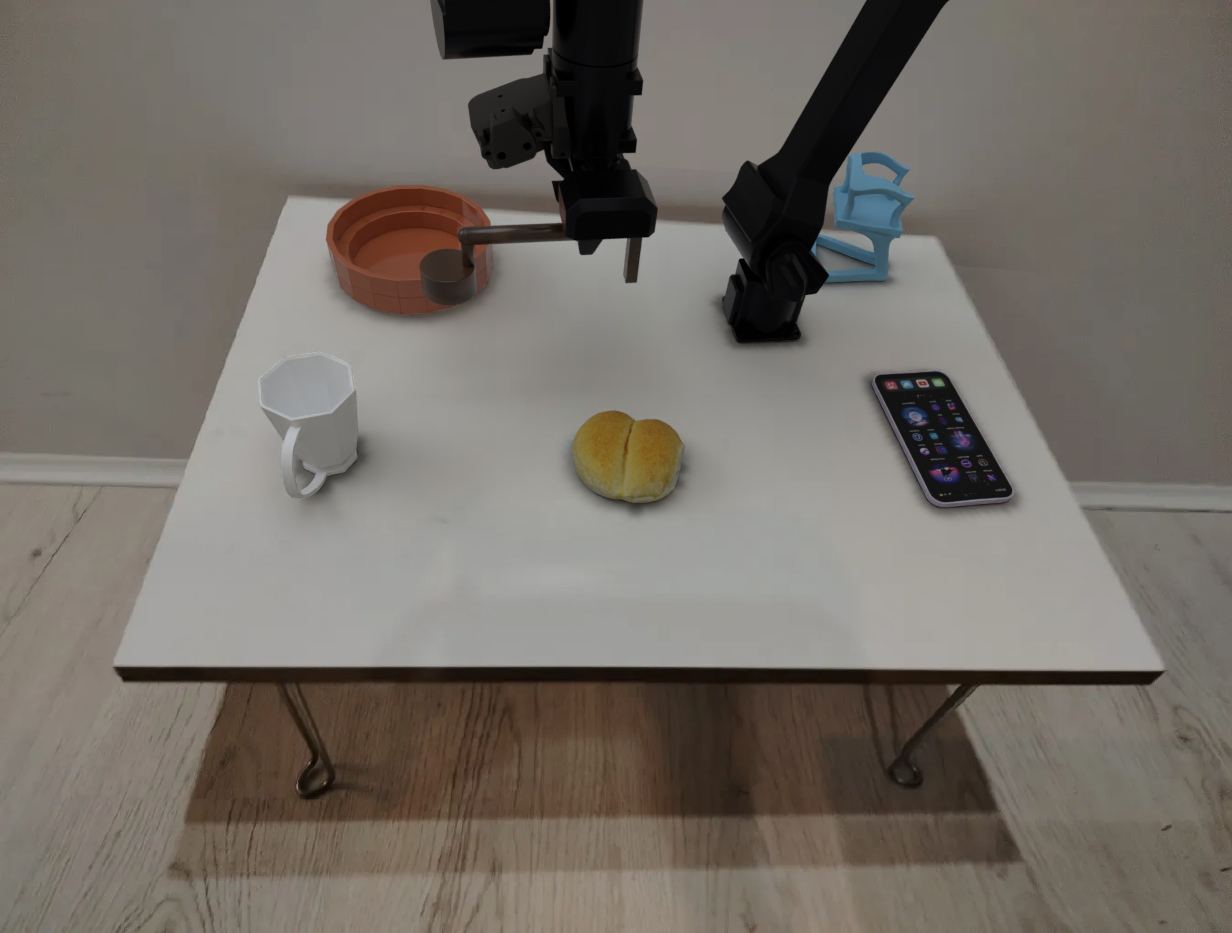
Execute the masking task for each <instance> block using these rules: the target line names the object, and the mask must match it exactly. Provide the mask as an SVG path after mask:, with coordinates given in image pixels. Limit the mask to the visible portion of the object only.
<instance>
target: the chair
mask: <svg viewBox="0 0 1232 933" xmlns="http://www.w3.org/2000/svg"><path fill="white" fill-rule="evenodd" d="M870 164H879V165H882V166H884V167H886V168H888V169H889V170H891V171H892V172H893V173H894V174H896V176H895V178H894V179H893V181H891V180H889V179H887V178H885V177H880V176H875V175H869V174H867V173H865V171H864V170H863V166H865V165H870ZM845 169H846V170H845V178H844V180H843V183H842V184H841V185H835V186H834V188H833V192H832V196H833V198H832V199H833V210H834V217H833V218H834V219H833V221H834V222H833V225H834V229H838V230H844V231H853V232H854V233H857V234H860V235H862V236H864V237H866V238H868V239H869V241H871V243H872V247H873V251H870V250H867V249H864V248H861V247H858V246H856V245H853V244H851V243H848V242H845V241H842V240H839V239H837V238H834V237H831V236H827V235H824V234H822V233H819V235H818V238H817V240H816V242H815V244H814V246H813V248H812V250H811V251H812V252H813V253H814V255H815V256H816V257H817V245H820V246H822V247H824V248H827V249H830V250H832V251H835V252H838V253H840V254H843V255H846V256H848V257H850V258H854V259H856V260H857V261H858V260H859V261H861V262H864V263H867V264H870V265H873V266H874V267H868V268H867V267H866V268H853V269H851V268H850V269H838V270H826V271H827V272H828V274H829V277H828V279H827V280H826V282H825V283H843V282H844V283H845V282H865V281H867V282H868V281H869V282H870V281H874V282H877V281H878V282H881V281H882V282H884V281H886V280H887V279H888V275H889V256H890V255H889V254H890V253H889V252H890V245H891V243H892V241H893V240H894V239H901V236H902V233H903V232H904V230H903V224H902V218H901V216H902V213H903V212H904V211H905V209H906V208H907V207H908V206H909V205H910V204H911V203H912V202H913V201H914V200H915V199H916V196H915V195H914V194H910V193H908V192H907V191H904V190H903V189H902V188H900V185H901V183H902V182H903V179H904V177H906V175H907V174H908V173H909V172H910V171H911V170H912V168H911V167H910V166H908V165H904V164H902V163H900V162H899V161H898V160H896V159H895V158H893V157H892V156H890V155H889V154H887V153H885V152H882V151H877V150H875V151H864V152H863V151H862V152H858V153H853V154H852V153H851V154H848V156H847V160H846V167H845ZM825 283H824V284H825Z"/></svg>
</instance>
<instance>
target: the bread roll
mask: <svg viewBox="0 0 1232 933" xmlns="http://www.w3.org/2000/svg"><path fill="white" fill-rule="evenodd" d="M571 444H572V446H571V456H572V461H573V465H574V469H575V471H576V474H577V475H578V477H579V479H580V480H581V481H582V483H583V484H584V485H585V486H586V487H588V489H590V491H592V492H594V493H595V494H597V495H600V496H601V497H604V498H607V499H611V500H622V501H626V502H627V503H628V502H629V503H633V504H642V503H652V502H656V501H660V500H662V499H663V498H665V497H667V495H669V494H671V492H673V491H674V490H675V487H676V485H677V482H678V479H679V476H680V470H681V469H682V461H683V459H684V453H685V452H684V451H685V448H686V444H684V442H683V441H682V439H681V436H680V435H679V434H678V432H677V431H676V429H674V428H673V427H672V426H671V425H670V424H668V423H666V422H665V421H663V420H661V419H657V418H644V419H639V420H638V419H637V420H635V419H634V418H633V417H632V416H631V415H629V414H627V413H626V412H624V411H621V410H606V411H605V410H604V411H601V412H598V413H596V414H594V415H592V416H591V417H590V418H589V419H587V420H586V421H585V422H584V423H583V424H582V425H581V426H580V427H579V428H578V430H577V432H576V433H575V435H574V438H573V440H572V443H571Z"/></svg>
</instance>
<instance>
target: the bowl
mask: <svg viewBox="0 0 1232 933" xmlns="http://www.w3.org/2000/svg"><path fill="white" fill-rule="evenodd" d="M470 226H492V222H491V220H490V218H489V216H488V215H487V214H486V212H485V211H484V209H483V208H482V207H481V206H480V205H479V204H478V203H476V202H475V201H473V200H472V199H470V198H469V197H467V196H466V195H463V194H461V193H458V192H455V191H453V190H450V189H447V188H443V187H436V186H430V185H424V184H414V185H413V184H411V185H409V184H408V185H403V184H402V185H401V184H400V185H394V186H389V187H382V188H377V189H373V190H370V191H368V192H365V193H363V194H360V195H358V196H356V197H353V198H352V199H351V200H349V201H348V202H347V203H345V204H343V205H342V206H341V207H340V208H338V209H337V210H336V211H335V213H334V214H333V215H332V217H331V219H330V220H329V221H328V223H327V227H326V233H325V234H326V235H325V242H326V246H327V251H328V255H329V259H330V262H331V263H330V264H331V267H332V271H333V275H334V276H335V279H336V281H337V283H338V285H339V287H340V289H341V290H342V291H343V292H345V293H346V294H347V295H348V297H350V298H352V299H353V300H354V301H355V302H357V303H359V304H361V305H363V306H366V307H369V308H371V309H373V310H376V311H379V312H385V313H392V314H396V315H397V314H398V315H418V314H432V313H435V312H440V311H444V310H448V309H451V308H454V307H456V306H457V305H452V306H446V305H439V304H436V303H434V302H432V301H430V300H429V299H427V298H426V296H425V295H424V293H423V289H422V282H421V275H420V268H419V265H420V262H421V260H422V258H423V257H424V256H425V255H427V254H428V253H430V252H432V251H435V250H439V249H457V250H461V243H460V242H459V240H458V237H457V234H458V231H459V230H460V229H461V228H462V227H470ZM474 255H475V268H476V281H477V291H476V293H475V295H477V294H478V293H479V292H480V291H481V290H482V289H483V288H484V287H485V286H486V285H487V284H488V282H489V280H490V277H491V275H492V273H493V270H494V251H493V244H487V245H474Z"/></svg>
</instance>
